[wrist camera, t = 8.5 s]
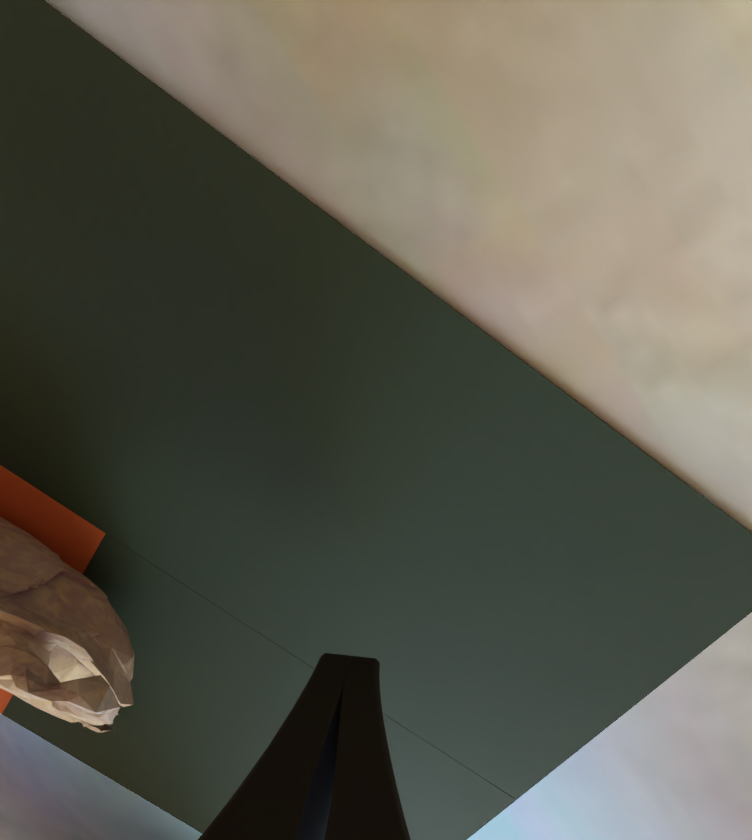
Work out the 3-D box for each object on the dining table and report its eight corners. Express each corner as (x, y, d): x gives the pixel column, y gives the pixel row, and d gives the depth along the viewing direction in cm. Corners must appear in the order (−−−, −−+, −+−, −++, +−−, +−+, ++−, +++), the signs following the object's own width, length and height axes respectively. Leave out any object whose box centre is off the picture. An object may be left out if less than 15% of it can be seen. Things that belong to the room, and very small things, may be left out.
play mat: (358, 919, 17) (358, 926, 17) (-253, 554, 15) (-262, 557, 15) (796, 567, 11) (802, 571, 11) (-88, -98, 9) (-99, -107, 9)
